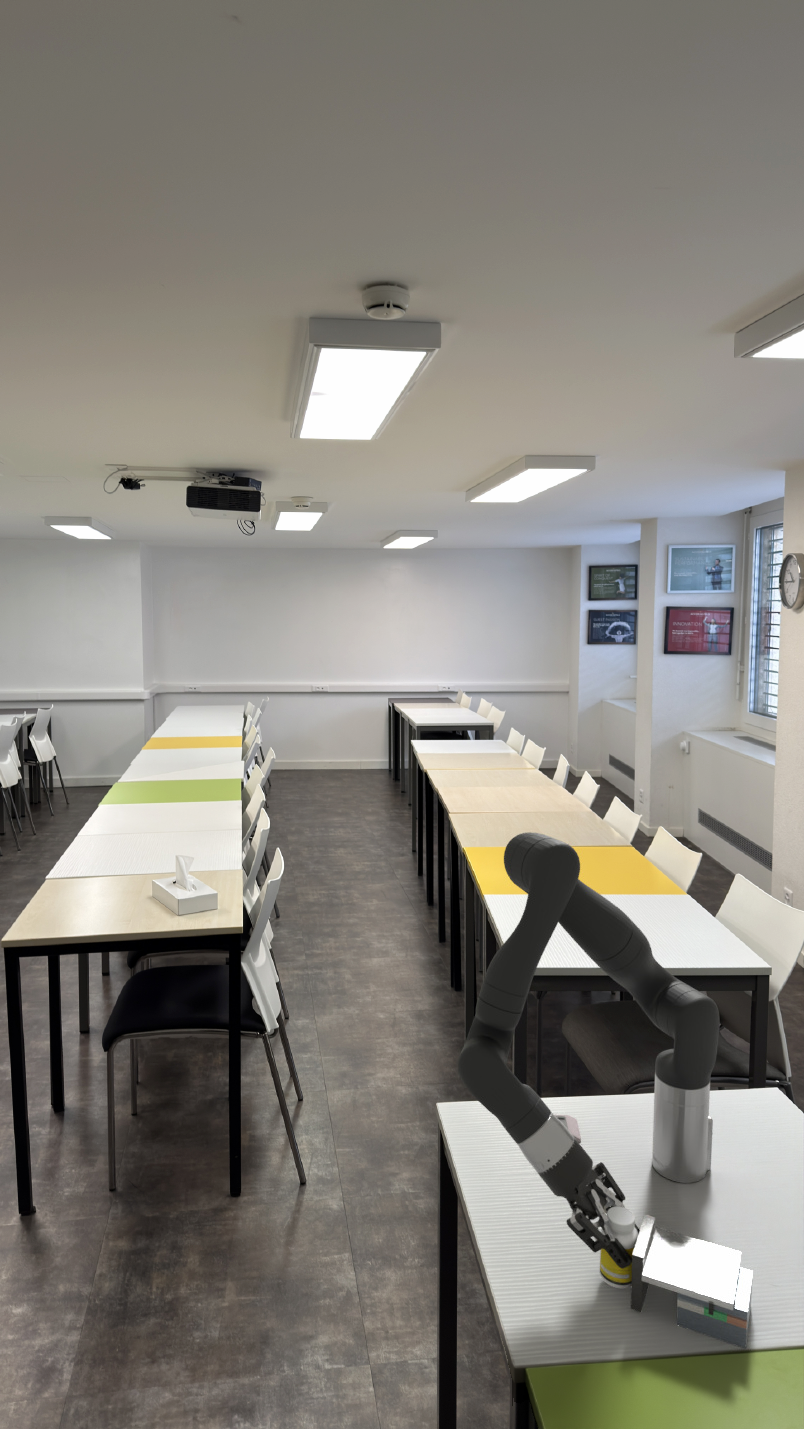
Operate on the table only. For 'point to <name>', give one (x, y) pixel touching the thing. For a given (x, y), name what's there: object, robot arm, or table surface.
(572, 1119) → the electrical tester
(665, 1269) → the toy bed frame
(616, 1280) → the supplement bottle
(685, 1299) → the gauge housing
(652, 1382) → the table surface
